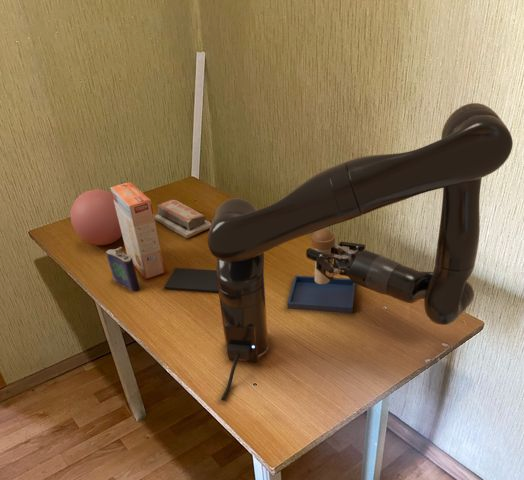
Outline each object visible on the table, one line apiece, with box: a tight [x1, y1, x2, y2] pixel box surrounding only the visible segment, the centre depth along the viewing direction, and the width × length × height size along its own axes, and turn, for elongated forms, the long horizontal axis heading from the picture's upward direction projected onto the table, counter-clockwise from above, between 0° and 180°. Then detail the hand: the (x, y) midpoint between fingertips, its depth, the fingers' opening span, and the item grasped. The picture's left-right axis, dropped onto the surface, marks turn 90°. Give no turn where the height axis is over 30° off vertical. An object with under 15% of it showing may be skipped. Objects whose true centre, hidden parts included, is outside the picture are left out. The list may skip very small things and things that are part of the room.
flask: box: [105, 246, 141, 292], centre depth 134 cm, size 9×3×11 cm, turn 50°
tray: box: [286, 274, 357, 314], centre depth 128 cm, size 12×15×2 cm
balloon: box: [70, 188, 123, 246], centre depth 152 cm, size 15×20×15 cm
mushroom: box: [311, 228, 336, 284], centre depth 121 cm, size 5×5×13 cm
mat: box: [164, 267, 219, 294], centre depth 136 cm, size 9×20×1 cm, turn 78°
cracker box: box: [110, 181, 166, 280], centre depth 137 cm, size 14×6×21 cm, turn 31°
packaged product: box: [154, 199, 211, 240], centre depth 160 cm, size 18×5×10 cm
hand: (313, 248), depth 122 cm, fingers closed on mushroom, 3 cm apart
